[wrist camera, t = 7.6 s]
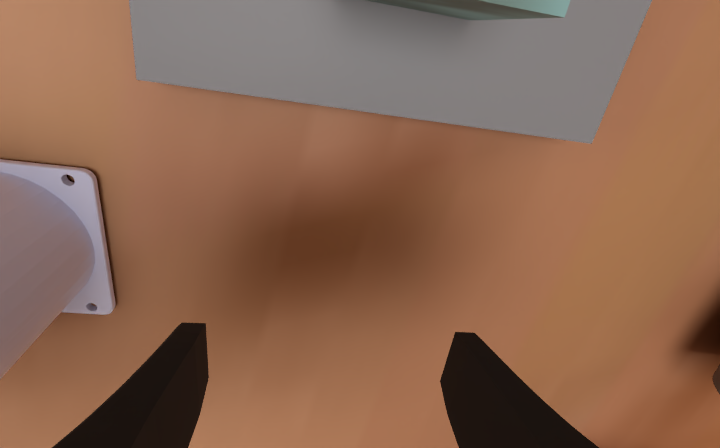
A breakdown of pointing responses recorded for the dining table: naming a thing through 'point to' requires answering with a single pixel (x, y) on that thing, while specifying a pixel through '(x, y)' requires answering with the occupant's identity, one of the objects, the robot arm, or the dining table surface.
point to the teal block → (487, 8)
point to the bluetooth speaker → (717, 379)
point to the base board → (397, 59)
